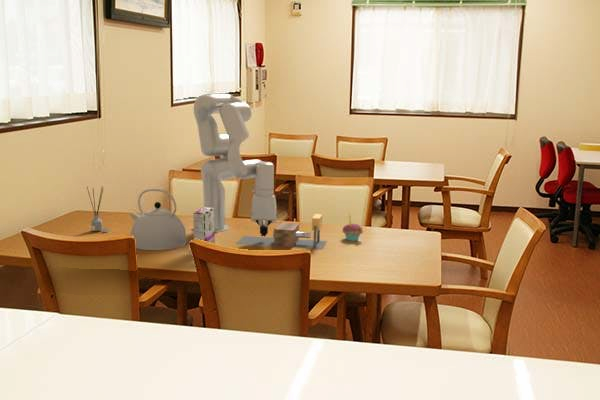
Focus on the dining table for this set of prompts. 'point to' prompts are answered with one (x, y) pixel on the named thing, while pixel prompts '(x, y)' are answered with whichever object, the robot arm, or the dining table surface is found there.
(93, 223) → the reed diffuser
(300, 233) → the pin
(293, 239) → the hitch block
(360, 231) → the cupcake
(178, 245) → the kettle
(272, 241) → the base mat
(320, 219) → the beige small block
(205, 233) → the candy bar box
